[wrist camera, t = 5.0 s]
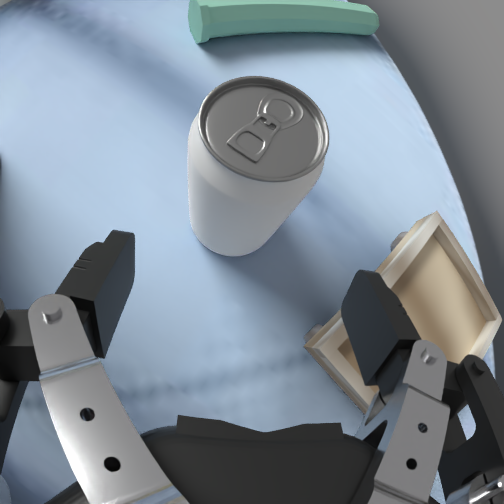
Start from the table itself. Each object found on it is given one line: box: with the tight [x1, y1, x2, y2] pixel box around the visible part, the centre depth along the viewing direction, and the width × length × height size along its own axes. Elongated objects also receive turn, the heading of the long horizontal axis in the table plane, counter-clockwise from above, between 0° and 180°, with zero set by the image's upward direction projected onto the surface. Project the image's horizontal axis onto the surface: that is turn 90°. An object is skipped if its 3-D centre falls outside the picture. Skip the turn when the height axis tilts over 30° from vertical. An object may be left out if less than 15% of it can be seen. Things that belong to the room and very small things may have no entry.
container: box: [188, 0, 379, 44], centre depth 28 cm, size 6×6×25 cm
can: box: [188, 76, 329, 256], centre depth 18 cm, size 6×6×12 cm
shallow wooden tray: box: [304, 211, 502, 415], centre depth 21 cm, size 14×12×6 cm
